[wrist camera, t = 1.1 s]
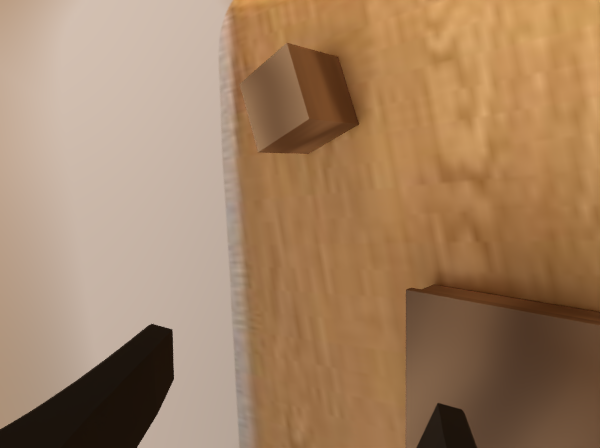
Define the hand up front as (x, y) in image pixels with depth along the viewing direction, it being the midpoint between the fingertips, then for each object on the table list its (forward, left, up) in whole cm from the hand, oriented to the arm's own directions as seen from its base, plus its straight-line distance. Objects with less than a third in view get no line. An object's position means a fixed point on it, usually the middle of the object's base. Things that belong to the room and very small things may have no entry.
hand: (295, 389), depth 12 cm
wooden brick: (-1, +6, -14) cm, 15 cm away
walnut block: (+11, -10, -14) cm, 20 cm away
